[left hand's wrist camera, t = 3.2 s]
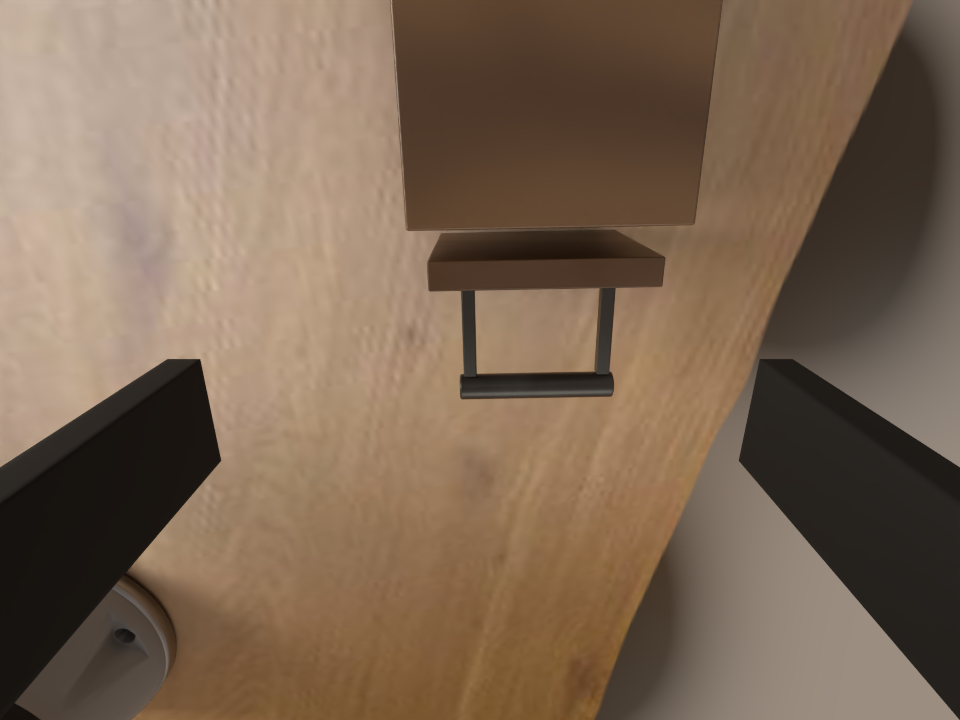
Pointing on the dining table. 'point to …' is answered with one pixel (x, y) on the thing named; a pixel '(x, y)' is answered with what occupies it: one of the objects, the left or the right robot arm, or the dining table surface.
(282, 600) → the dining table surface
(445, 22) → the cabinet
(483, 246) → the drawer
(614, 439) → the dining table surface
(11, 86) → the dining table surface
